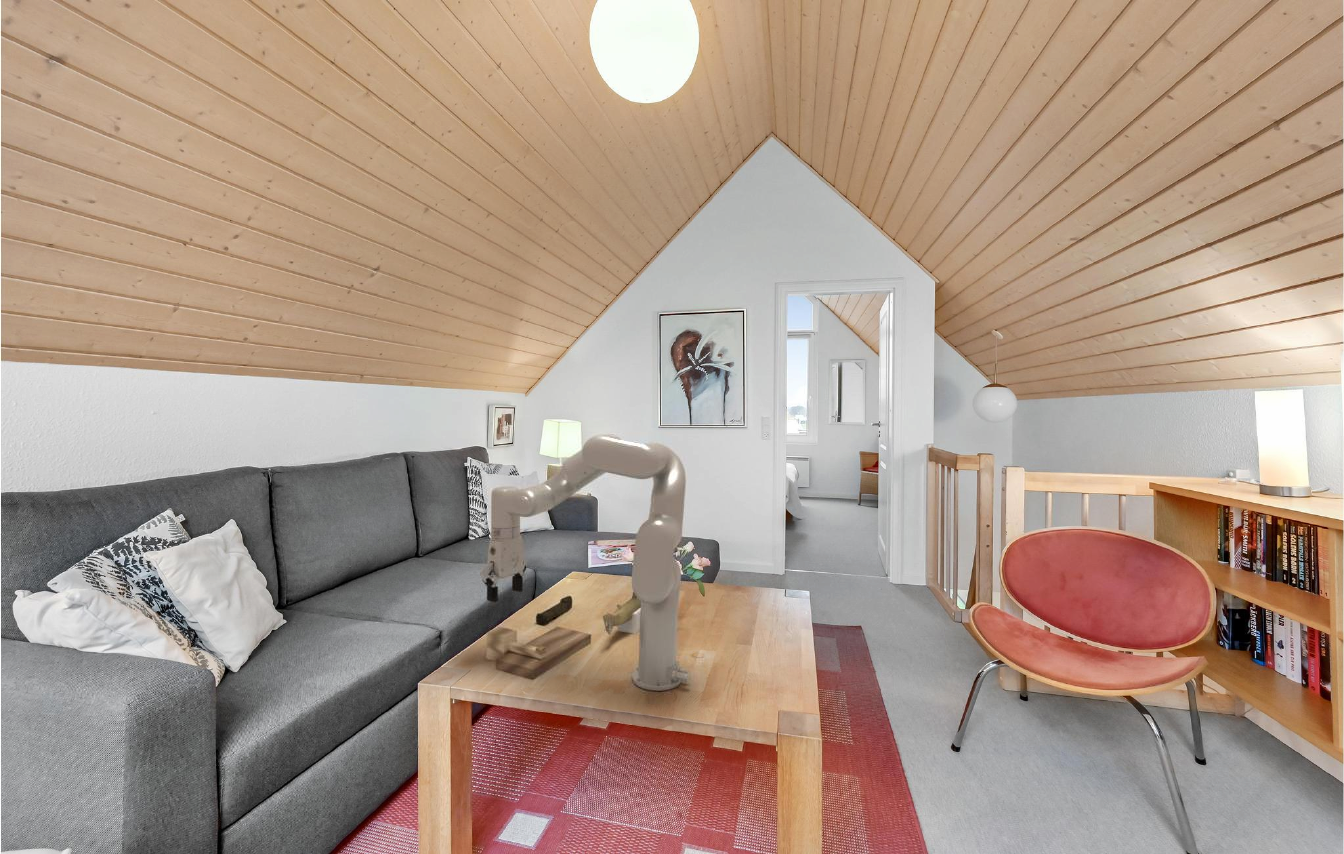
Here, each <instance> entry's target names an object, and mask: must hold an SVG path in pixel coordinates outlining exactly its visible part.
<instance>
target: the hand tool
mask: <svg viewBox="0 0 1344 854" xmlns="http://www.w3.org/2000/svg"><path fill="white" fill-rule="evenodd" d="M572 607H573V597H572V596H571V595H567V596H565V597H562V598H561V599H560V601H559V602H557V604H555V605H553V606H552V607H550V608H548V609H546V610H544V611H542V612H540V613H539V612H538V613H536V616H535V623H536V624H537V625H539V626H546V625H547V624H549V622H550V621H552V620H553V619H555V618H556V617H557V618H558V617H559V616H560V615H561V614H564V613H568V612H569V611H570V610H571V609H572Z"/></svg>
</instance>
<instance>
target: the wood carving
mask: <svg viewBox="0 0 1344 854" xmlns="http://www.w3.org/2000/svg"><path fill="white" fill-rule="evenodd" d="M616 607H617V608H616V609H615V610H614V611H613V612H612V613H610V612H605V613H604V614H603V616H602V618H603V623H604V629H605V631H606V632H607V634H608V635H611V633H612V631H613V628H614V627H617V632H623V633H628V634H634V635H636V634H637V633H639V632H640V612H641V601H640V600H639V599H638V598H637V597H636V595H635V594H634V591H633V592H632V596H631V598H630V599H628V600H627V601H625V602H624V603H623V604H622V605H620V604H617V605H616Z"/></svg>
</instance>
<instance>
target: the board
mask: <svg viewBox="0 0 1344 854" xmlns="http://www.w3.org/2000/svg"><path fill="white" fill-rule="evenodd" d="M591 643H592V634H591V633H587V632H582V631H579V630H574V629H570V628H565V627H561V626H556V627H554V628H552V629H550V630H548V631H546V632H545V633H542V634H541V635H539V636H537V637H536V638H534V639H531V640H530V641H528V642H526V643H525V644H526V645H530V646H534V647H539V646H543V647H545V649H546V656H545V657H544V658H542V659H538V658H535V657H531V656H527V655H523V654H519V653H516V652H512V651H511V652H509V653H507V654H505V655H504V656H502V657H500V658H498V659H496V661H495V662H496V663H495V669H496V670H499V671H503V672H505V673H509V674H513V675H516V676H519V677H523V678H526V679H530V680H535V679H537V678H538V677H540V676H541V675H543V674H544V673H546V672H547V671H549V670H550V669H552V668H554V667H555V666H557V665H559V664H560V663H561V662H563V661H565V660H566V659H568V658H570V657H571V656H572V655H574V654H576V653H578V652H579V651H580V650H582V649H583V648H585V647H586V646H588V645H589V644H591Z"/></svg>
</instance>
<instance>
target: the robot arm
mask: <svg viewBox="0 0 1344 854" xmlns="http://www.w3.org/2000/svg"><path fill="white" fill-rule="evenodd" d="M606 473H608V474H611V475H617V476H622V477H626V478H630V479H637V480H648V479H651V478H652V480H653V486H652V489H651V490H652V491H651V495H650V506H649V513H648V518H647V520H645V521H644V522H643V523H642V524H641V525H640V527H639V528H638V531H637V533H636V537H635V542H634V551H633V560H632V571H631V587H632V591H633V592H634V594H635V595H636V597H637V598H638V599H639V600H640V601H641V612H640V630H639V638H638V639H639V641H638V642H639V643H638V645H639V646H638V667H637V668H635V669H634V670H633V671H632V673H631V681H632V683H634V684H635V685H636V686H637V687H639V688H641V689H645V690H649V691H657V692H659V691H660V692H661V691H669V690H672V689H675V688H676V687H678V686H679V685H680V684H681V683H682V682H683V683H689V682H690V680H691V674H690V670H689V669H685V668H681V667H680V665H681V663H680V662H681V661H679V660H677V650H678V649H677V647H678V644H677V642H678V618H679V601H680V591H681V590H680V589H681V583H682V582H681V580H682V574H681V572H682V571H681V567H680V565H679V562H678V561H677V560H676V558H675V557H674V553H675V548H676V547H677V546H678V545H679V544H680V542H681V540H682V537H683V523H684V511H685V510H684V509H685V498H686V497H685V495H686V483H687V482H686V481H687V480H686V478H687V477H686V470H685V467H684V465H683V462H682V460H681V458H680V457H679V456H678V454H676V452H674V451H673V449H671V448H669V447H667V446H666V445H664V444H661V443H658V442H648V443H637V442H632V441H628V440H627V441H626V440H622V439H621V438H620V437H618V436H617V435H614V434H611V433H610V434H608V433H607V434H596V435H593V436H591V437H590V438H588V439H587V440H586V441H585V443H584V445H583V446H582V449H580V450H579V451H577V452H576V453H574V454H572V455H571V456H570V457H567V458H566V459H565V460H564V461H563V463H562V465H561V468H560V470H559V471H558V472H556V474H555V475H553V476H551V477H549V478H548V479H547V480H545V481H544V482H543V483H540V484H538V485H534V486H530V487H526V488H522V489H521V488H520V489H519V488H518V487H515V486H499V487H494V488H493V490H492V491H491V496H490V498H491V499H490V500H491V502H490V505H491V507H490V510H491V511H490V513H491V515H490V517H491V518H490V525H491V526H490V532H489V536H490V539H489V543H488V545H489V546H488V552H487V561H486V564H487V565H486V566H485V567H484V568H483V569H482V570H481V571H480V577H481V581H482V582H483V584H484V585H485V587H486V601H487V602H492V603H497V602H498V600H499V586H497V585H498V583H499V581H500V579H506V578H509V577H512V578H511V582H512V583H511V586H512V587H511V590H512V591H514V592H519V593H521V592H524V591H523V589H524V588H523V587H524V585H523V583H524V579H523V578H524V576H525V572H526V570H527V565H528V562H529V558H528V557H526V556H525V548H524V540H523V537H522V535H521V517H522V518H530V517H533V516H536V515H539V514H542V513H545V512H547V511H550V510H551V509H553V508H555V507H556V506H558V505H559V504H561V503H563V502H564V501H566V500H567V499H569V498H570V497H571V496H573V495H574V494H576V493H577V492H579V491H580V490H582V489H583V488H585V487H587V485H589V484H590V483H592V482H593V481H595V480H596V479H598V478H599V477H602V476H603V475H604V474H606Z"/></svg>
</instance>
